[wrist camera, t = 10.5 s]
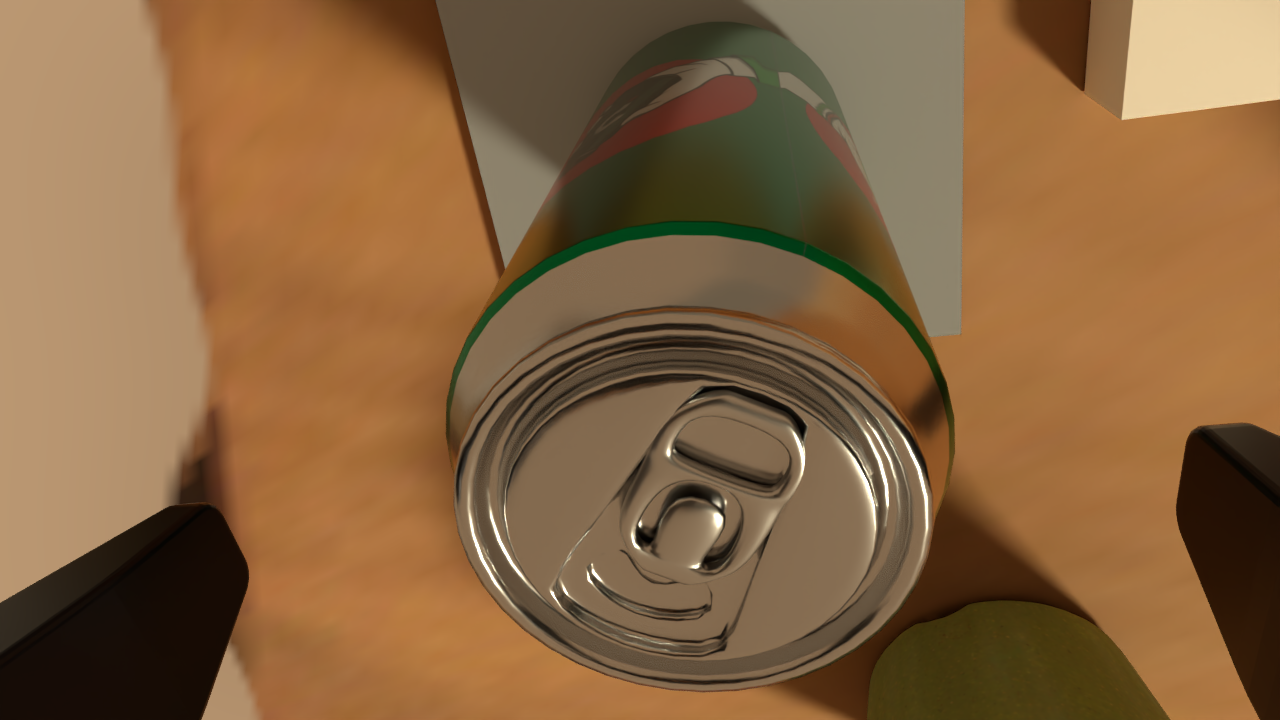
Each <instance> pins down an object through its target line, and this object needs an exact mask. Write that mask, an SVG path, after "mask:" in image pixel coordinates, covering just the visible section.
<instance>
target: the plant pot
mask: <svg viewBox="0 0 1280 720" xmlns="http://www.w3.org/2000/svg"><path fill="white" fill-rule="evenodd" d="M867 720H1170V718H1169V717H1168V716H1167V714H1166V713H1165V711H1164V710H1163V709H1162V707H1161V706H1160V704H1159V703H1158V702H1157V700H1156V699H1155V697H1154V696H1153V694H1152V693H1151V692H1150V690H1149V689H1148V687H1147V686H1146V684H1145V683H1144V682H1143V680H1142V679H1141V677H1140V676H1139V675H1138V673H1137V672H1136V670H1135V669H1134V667H1133V666H1132V665H1131V663H1130V662H1129V661H1128V659H1127V658H1126V657H1125V655H1124V654H1123V653H1122V651H1121V650H1120V649H1119V648H1118V647H1117V646H1116V645H1115V643H1114V642H1113V641H1112V640H1111V639H1110V638H1109V637H1108V636H1107V635H1106V634H1105V633H1104V632H1103V631H1102V630H1100V629H1099V628H1098V627H1097V626H1095V625H1094V624H1092V623H1091V622H1089V621H1087V620H1085V619H1083V618H1081V617H1079V616H1077V615H1074V614H1072V613H1070V612H1068V611H1065V610H1062V609H1059V608H1055V607H1052V606H1048V605H1045V604H1039V603H1033V602H1023V601H986V602H978V603H972V604H969V605H967V606H965V607H964V608H962V609H960V610H959V611H957V612H955V613H953V614H951V615H949V616H947V617H944V618H941V619H937V620H933V621H929V622H924V623H918V624H915V625H913V626H912V627H910V628H909V629H907V630H906V631H904V632H903V633H901V634H900V635H899V636H898V637H897V638H896V639H895V640H894V641H893V642H892V643H891V644H890V645H889V646H888V647H887V648H886V649H885V651H884V652H883V654H882V655H881V656H880V658H879V659H878V661H877V662H876V665H875V667H874V670H873V672H872V676H871V679H870V685H869V697H868V710H867Z"/></svg>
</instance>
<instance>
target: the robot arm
mask: <svg viewBox="0 0 1280 720" xmlns="http://www.w3.org/2000/svg"><path fill="white" fill-rule="evenodd" d="M1176 515H1177V522H1178V526H1179V530H1180V533H1181V536H1182V538H1183V541H1184V543H1185V545H1186V548H1187V550H1188V553H1189V555H1190V558H1191V560H1192V563H1193V565H1194V568H1195V570H1196V572H1197V575H1198V577H1199V580H1200V582H1201V585H1202V587H1203V590H1204V592H1205V595H1206V597H1207V600H1208V602H1209V604H1210V607H1211V609H1212V612H1213V614H1214V617H1215V619H1216V622H1217V624H1218V627H1219V629H1220V631H1221V634H1222V636H1223V639H1224V641H1225V644H1226V646H1227V649H1228V651H1229V654H1230V656H1231V658H1232V661H1233V663H1234V666H1235V668H1236V671H1237V673H1238V675H1239V677H1240V680H1241V682H1242V684H1243V686H1244V689H1245V691H1246V693H1247V695H1248V697H1249V699H1250V701H1251V703H1252V705H1253V707H1254V709H1255V711H1256V713H1257V715H1258V717H1259V719H1260V720H1280V436H1278V435H1276V434H1273V433H1271V432H1269V431H1267V430H1264V429H1262V428H1260V427H1258V426H1255V425H1253V424H1249V423H1231V424H1219V425H1206V426H1199V427H1197V428H1196V429H1194V430H1193V431H1191V433H1190V435H1189V436H1188V439H1187V442H1186V446H1185V452H1184V459H1183V465H1182V471H1181V477H1180V484H1179V490H1178V496H1177V503H1176ZM248 582H249V570H248V565H247V562H246V559H245V557H244V555H243V553H242V551H241V550H240V548H239V546H238V544H237V542H236V540H235V538H234V536H233V534H232V532H231V530H230V528H229V526H228V524H227V522H226V520H225V518H224V516H223V514H222V512H221V511H220V510H219V509H218V508H217V507H216V506H215V505H213V504H210V503H206V502H203V503H190V504H178V505H173V506H169V507H167V508H165V509H163V510H161V511H160V512H158V513H156V514H155V515H153V516H151V517H149V518H147V519H146V520H144V521H142V522H140V523H139V524H137V525H135V526H134V527H132V528H130V529H128V530H126V531H125V532H123V533H121V534H120V535H118V536H116V537H114V538H112V539H111V540H109V541H107V542H106V543H104V544H102V545H100V546H99V547H97V548H95V549H93V550H92V551H90V552H88V553H86V554H85V555H83V556H81V557H79V558H78V559H76V560H74V561H72V562H71V563H69V564H67V565H66V566H64V567H62V568H60V569H58V570H57V571H55V572H53V573H51V574H50V575H48V576H46V577H44V578H43V579H41V580H39V581H37V582H36V583H34V584H32V585H30V586H29V587H27V588H25V589H24V590H22V591H20V592H18V593H17V594H15V595H13V596H12V597H9V598H8V599H6V600H4V601H2V602H1V603H0V720H201V719H202V717H203V714H204V711H205V708H206V706H207V703H208V700H209V697H210V695H211V692H212V689H213V686H214V683H215V680H216V677H217V674H218V672H219V668H220V666H221V663H222V660H223V657H224V654H225V651H226V649H227V646H228V643H229V640H230V637H231V634H232V631H233V628H234V626H235V623H236V620H237V617H238V614H239V611H240V608H241V605H242V602H243V600H244V597H245V594H246V591H247V587H248Z"/></svg>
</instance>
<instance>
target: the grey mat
mask: <svg viewBox="0 0 1280 720" xmlns="http://www.w3.org/2000/svg"><path fill="white" fill-rule="evenodd" d="M435 1H436V5H437V8H438V12H439V16H440V20H441V24H442V28H443V31H444V35H445V39H446V43H447V47H448V51H449V54H450V58H451V62H452V66H453V70H454V74H455V78H456V81H457V85H458V89H459V93H460V97H461V101H462V104H463V108H464V112H465V116H466V120H467V124H468V127H469V131H470V135H471V139H472V143H473V147H474V150H475V154H476V158H477V162H478V166H479V170H480V174H481V177H482V181H483V185H484V189H485V193H486V197H487V200H488V204H489V208H490V212H491V216H492V220H493V223H494V227H495V231H496V235H497V239H498V243H499V247H500V250H501V254H502V258H503V262H504V266H505V269H506V268H507V266H508V264H509V262H510V260H511V259H512V257H513V255H514V253H515V252H516V250H517V248H518V246H519V244H520V243H521V241H522V239H523V237H524V236H525V234H526V232H527V230H528V228H529V227H530V225H531V223H532V221H533V220H534V218H535V216H536V214H537V213H538V211H539V209H540V207H541V205H542V204H543V202H544V200H545V198H546V197H547V195H548V193H549V191H550V189H551V188H552V186H553V184H554V182H555V181H556V179H557V177H558V175H559V173H560V172H561V170H562V168H563V166H564V165H565V163H566V161H567V159H568V158H569V156H570V154H571V152H572V150H573V149H574V147H575V145H576V143H577V142H578V140H579V138H580V136H581V134H582V133H583V131H584V129H585V127H586V126H587V124H588V122H589V120H590V118H591V117H592V115H593V113H594V111H595V110H596V108H597V106H598V104H599V102H600V101H601V99H602V97H603V95H604V94H605V92H606V90H607V88H608V87H609V85H610V84H611V82H612V81H613V79H614V78H615V76H616V75H617V73H618V72H619V70H620V69H621V68H622V67H623V66H624V65H625V64H626V63H627V62H628V61H629V59H630V58H631V57H632V56H633V55H634V54H636V53H637V52H638V51H640V50H641V49H642V48H643V47H645V46H646V45H647V44H648V43H650V42H652V41H654V40H655V39H657V38H659V37H661V36H663V35H664V34H666V33H668V32H671V31H674V30H677V29H680V28H682V27H685V26H688V25H694V24H699V23H705V22H736V23H743V24H749V25H753V26H756V27H759V28H762V29H765V30H768V31H771V32H773V33H775V34H777V35H779V36H781V37H783V38H785V39H786V40H788V41H790V42H791V43H793V44H794V45H795V46H797V47H798V48H799V49H801V50H802V51H803V52H804V53H806V54H807V55H808V56H809V57H810V58H811V59H812V61H813V62H814V63H815V64H816V65H817V66H818V67H819V68H820V69H821V71H822V72H823V74H824V75H825V77H826V78H827V80H828V82H829V83H830V85H831V86H832V88H833V90H834V93H835V95H836V97H837V100H838V102H839V105H840V107H841V110H842V112H843V115H844V117H845V120H846V123H847V125H848V128H849V130H850V133H851V136H852V138H853V141H854V143H855V146H856V148H857V151H858V154H859V156H860V159H861V161H862V164H863V167H864V169H865V172H866V174H867V177H868V180H869V182H870V185H871V187H872V190H873V193H874V195H875V198H876V200H877V203H878V206H879V208H880V211H881V213H882V216H883V219H884V221H885V224H886V226H887V229H888V231H889V234H890V237H891V239H892V242H893V244H894V247H895V250H896V252H897V255H898V257H899V260H900V263H901V265H902V268H903V270H904V273H905V276H906V278H907V281H908V283H909V286H910V289H911V291H912V294H913V296H914V299H915V302H916V304H917V307H918V309H919V312H920V314H921V317H922V320H923V322H924V325H925V327H926V330H927V333H928V335H929V337H936V336H947V335H957V334H961V292H962V200H963V107H964V15H965V0H435Z"/></svg>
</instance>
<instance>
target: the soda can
mask: <svg viewBox="0 0 1280 720" xmlns="http://www.w3.org/2000/svg"><path fill="white" fill-rule="evenodd" d="M446 438H447V444H448V450H449V456H450V462H451V467H452V470H453V473H454V510H455V516H456V522H457V527H458V533H459V536H460V539H461V542H462V544H463V547H464V550H465V553H466V555H467V558H468V561H469V562H470V564H471V566H472V568H473V569H474V571H475V573H476V575H477V576H478V578H479V580H480V582H481V583H482V585H483V587H484V588H485V589H486V590H487V592H488V593H489V594H490V595H491V597H492V598H493V599H494V600H495V602H496V603H497V604H498V605H499V607H500V608H501V609H502V610H503V611H504V612H505V613H506V614H507V615H508V616H509V617H510V618H512V619H513V620H514V621H515V622H516V623H517V624H518V625H519V626H520V627H521V628H522V629H523V630H524V631H526V632H527V633H529V634H530V635H531V636H533V637H534V638H536V639H537V640H538V641H540V642H541V643H543V644H544V645H545V646H547V647H548V648H550V649H551V650H553V651H555V652H557V653H559V654H561V655H562V656H564V657H566V658H568V659H570V660H572V661H573V662H575V663H577V664H579V665H582V666H584V667H587V668H589V669H592V670H594V671H597V672H599V673H602V674H604V675H606V676H610V677H613V678H617V679H620V680H624V681H627V682H631V683H634V684H638V685H643V686H649V687H655V688H661V689H667V690H675V691H691V692H723V691H739V690H746V689H752V688H759V687H765V686H770V685H774V684H778V683H781V682H785V681H789V680H792V679H796V678H799V677H802V676H805V675H807V674H809V673H812V672H814V671H817V670H819V669H821V668H824V667H826V666H829V665H831V664H833V663H834V662H836V661H838V660H839V659H841V658H843V657H845V656H846V655H848V654H850V653H852V652H853V651H855V650H857V649H858V648H859V647H861V646H862V645H863V644H864V643H866V642H867V641H868V640H869V639H871V638H872V637H873V636H875V635H876V634H877V633H878V632H880V631H881V630H882V629H883V628H884V627H885V626H886V624H887V623H888V622H889V621H890V620H891V619H892V618H893V617H894V616H895V615H896V614H897V612H898V611H899V610H900V609H901V608H902V607H903V605H904V603H905V602H906V600H907V599H908V597H909V596H910V594H911V593H912V591H913V589H914V588H915V586H916V585H917V583H918V581H919V578H920V576H921V573H922V571H923V568H924V566H925V563H926V561H927V558H928V556H929V551H930V545H931V539H932V534H933V528H934V522H935V518H936V516H937V514H938V511H939V508H940V506H941V503H942V501H943V498H944V496H945V493H946V491H947V488H948V486H949V481H950V476H951V470H952V465H953V459H954V454H955V430H954V414H953V409H952V405H951V400H950V396H949V391H948V386H947V382H946V379H945V377H944V374H943V372H942V369H941V366H940V364H939V361H938V359H937V356H936V353H935V351H934V348H933V346H932V343H931V340H930V338H929V335H928V333H927V330H926V327H925V325H924V322H923V320H922V317H921V314H920V312H919V309H918V307H917V304H916V302H915V299H914V296H913V294H912V291H911V289H910V286H909V283H908V281H907V278H906V276H905V273H904V270H903V268H902V265H901V263H900V260H899V257H898V255H897V252H896V250H895V247H894V244H893V242H892V239H891V237H890V234H889V231H888V229H887V226H886V224H885V221H884V219H883V216H882V213H881V211H880V208H879V206H878V203H877V200H876V198H875V195H874V193H873V190H872V187H871V185H870V182H869V180H868V177H867V174H866V172H865V169H864V167H863V164H862V161H861V159H860V156H859V154H858V151H857V148H856V146H855V143H854V141H853V138H852V136H851V133H850V130H849V128H848V125H847V123H846V120H845V117H844V115H843V112H842V110H841V107H840V105H839V102H838V100H837V97H836V95H835V93H834V90H833V88H832V86H831V85H830V83H829V82H828V80H827V78H826V77H825V75H824V74H823V72H822V71H821V69H820V68H819V67H818V66H817V65H816V64H815V63H814V62H813V61H812V59H811V58H810V57H809V56H808V55H807V54H806V53H804V52H803V51H802V50H801V49H799V48H798V47H797V46H795V45H794V44H793V43H791V42H790V41H788V40H786V39H785V38H783V37H781V36H779V35H777V34H775V33H773V32H771V31H768V30H765V29H762V28H759V27H756V26H753V25H749V24H743V23H736V22H705V23H699V24H694V25H688V26H685V27H682V28H680V29H677V30H674V31H671V32H668V33H666V34H664V35H663V36H661V37H659V38H657V39H655V40H654V41H652V42H650V43H648V44H647V45H646V46H645V47H643V48H642V49H641V50H640V51H638V52H637V53H636V54H634V55H633V56H632V57H631V58H630V59H629V61H628V62H627V63H626V64H625V65H624V66H623V67H622V68H621V69H620V70H619V72H618V73H617V75H616V76H615V78H614V79H613V81H612V82H611V84H610V85H609V87H608V88H607V90H606V92H605V94H604V95H603V97H602V99H601V101H600V102H599V104H598V106H597V108H596V110H595V111H594V113H593V115H592V117H591V118H590V120H589V122H588V124H587V126H586V127H585V129H584V131H583V133H582V134H581V136H580V138H579V140H578V142H577V143H576V145H575V147H574V149H573V150H572V152H571V154H570V156H569V158H568V159H567V161H566V163H565V165H564V166H563V168H562V170H561V172H560V173H559V175H558V177H557V179H556V181H555V182H554V184H553V186H552V188H551V189H550V191H549V193H548V195H547V197H546V198H545V200H544V202H543V204H542V205H541V207H540V209H539V211H538V213H537V214H536V216H535V218H534V220H533V221H532V223H531V225H530V227H529V228H528V230H527V232H526V234H525V236H524V237H523V239H522V241H521V243H520V244H519V246H518V248H517V250H516V252H515V253H514V255H513V257H512V259H511V260H510V262H509V264H508V266H507V268H506V269H505V271H504V273H503V275H502V276H501V278H500V280H499V282H498V283H497V285H496V287H495V289H494V291H493V292H492V294H491V296H490V298H489V299H488V301H487V303H486V305H485V307H484V308H483V310H482V312H481V314H480V315H479V317H478V319H477V321H476V323H475V324H474V326H473V328H472V330H471V331H470V333H469V335H468V337H467V339H466V341H465V344H464V346H463V348H462V351H461V353H460V355H459V358H458V360H457V362H456V365H455V367H454V369H453V374H452V379H451V383H450V388H449V393H448V397H447V403H446Z"/></svg>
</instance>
